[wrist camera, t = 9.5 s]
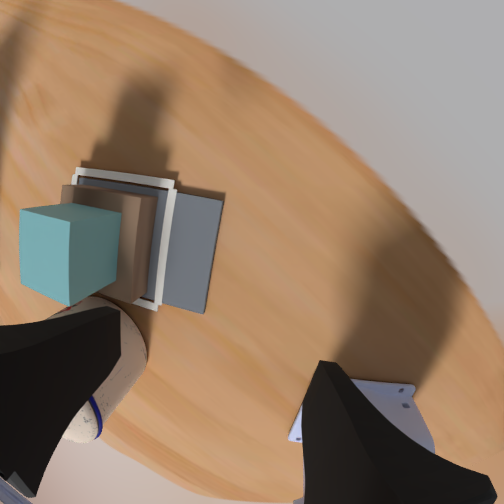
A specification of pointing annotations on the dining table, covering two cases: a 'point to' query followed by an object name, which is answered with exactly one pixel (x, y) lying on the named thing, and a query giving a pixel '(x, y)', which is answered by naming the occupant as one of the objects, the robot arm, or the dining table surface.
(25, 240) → the teal cube
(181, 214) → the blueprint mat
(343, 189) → the dining table surface
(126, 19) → the dining table surface
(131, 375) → the teacup with lid
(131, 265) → the walnut base
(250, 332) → the dining table surface
